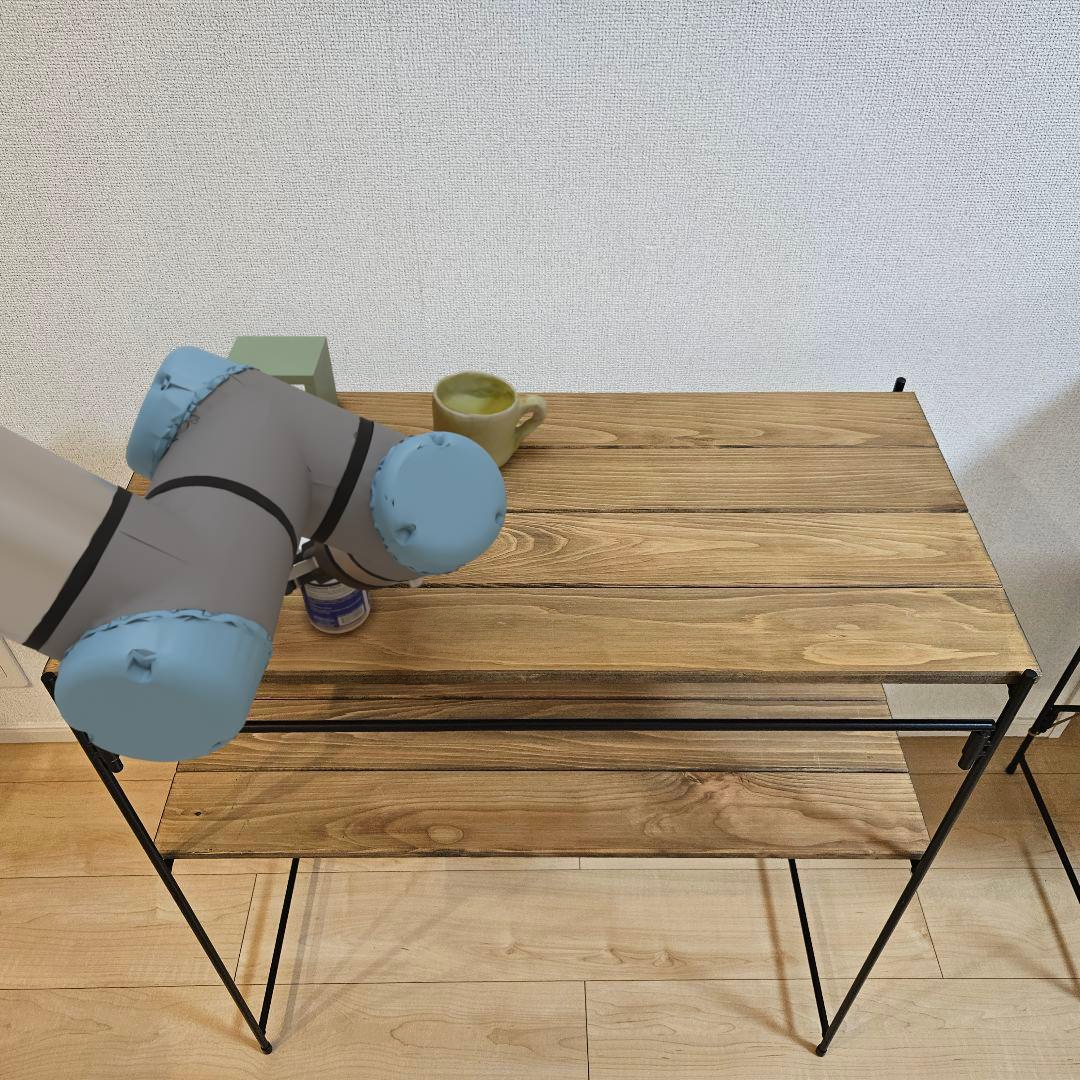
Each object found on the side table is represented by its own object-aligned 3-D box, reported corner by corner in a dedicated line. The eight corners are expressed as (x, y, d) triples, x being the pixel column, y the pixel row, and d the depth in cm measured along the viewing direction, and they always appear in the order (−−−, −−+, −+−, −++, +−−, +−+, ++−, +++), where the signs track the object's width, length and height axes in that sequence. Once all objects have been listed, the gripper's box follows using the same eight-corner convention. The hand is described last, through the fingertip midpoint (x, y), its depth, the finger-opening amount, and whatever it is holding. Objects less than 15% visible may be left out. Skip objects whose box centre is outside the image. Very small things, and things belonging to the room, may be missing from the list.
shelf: (238, 444, 100) (218, 375, 94) (255, 403, 106) (237, 335, 100) (327, 445, 100) (313, 375, 94) (338, 404, 106) (326, 336, 100)
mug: (410, 470, 94) (428, 380, 89) (432, 439, 103) (449, 356, 99) (522, 500, 94) (545, 413, 89) (533, 467, 103) (555, 386, 99)
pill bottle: (318, 587, 84) (299, 508, 77) (378, 592, 84) (363, 513, 77) (300, 633, 80) (278, 554, 73) (362, 639, 79) (346, 559, 73)
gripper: (256, 651, 56) (223, 652, 77) (528, 522, 65) (434, 554, 86) (205, 544, 56) (186, 573, 76) (486, 429, 65) (402, 483, 85)
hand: (317, 563), depth 81 cm, fingers open, 8 cm apart
